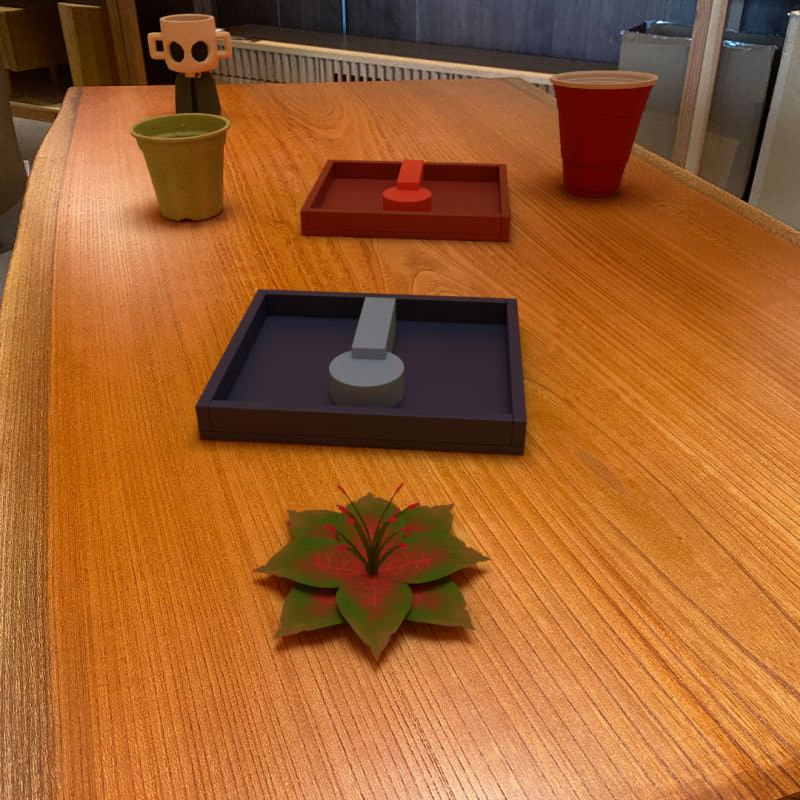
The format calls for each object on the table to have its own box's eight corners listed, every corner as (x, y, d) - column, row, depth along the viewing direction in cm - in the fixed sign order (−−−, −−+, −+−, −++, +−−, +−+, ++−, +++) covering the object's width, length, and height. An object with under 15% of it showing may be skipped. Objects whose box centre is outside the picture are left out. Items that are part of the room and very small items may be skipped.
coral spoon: (435, 186, 90) (435, 160, 89) (429, 222, 81) (430, 194, 79) (390, 185, 91) (390, 159, 89) (380, 220, 81) (380, 192, 80)
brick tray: (504, 185, 92) (506, 163, 91) (508, 241, 78) (510, 216, 77) (328, 180, 94) (327, 159, 92) (301, 235, 80) (299, 210, 78)
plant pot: (180, 236, 79) (167, 143, 75) (126, 213, 85) (110, 125, 80) (258, 211, 85) (249, 124, 81) (202, 190, 91) (191, 108, 86)
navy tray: (514, 326, 64) (517, 298, 62) (523, 455, 50) (527, 421, 48) (260, 316, 65) (257, 288, 64) (199, 439, 51) (194, 406, 50)
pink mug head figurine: (155, 126, 113) (140, 22, 107) (163, 113, 119) (148, 14, 113) (237, 124, 114) (226, 21, 107) (240, 112, 120) (230, 13, 113)
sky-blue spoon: (413, 333, 61) (413, 298, 60) (401, 415, 52) (401, 376, 51) (348, 330, 62) (347, 296, 60) (324, 411, 53) (322, 373, 51)
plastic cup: (608, 169, 97) (622, 59, 91) (660, 198, 89) (681, 79, 82) (523, 178, 94) (531, 66, 88) (568, 209, 86) (582, 87, 79)
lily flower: (236, 679, 36) (224, 602, 33) (260, 501, 46) (253, 432, 44) (514, 667, 36) (522, 591, 34) (478, 494, 47) (482, 425, 44)
